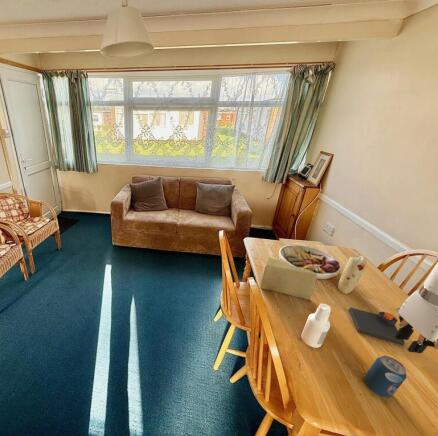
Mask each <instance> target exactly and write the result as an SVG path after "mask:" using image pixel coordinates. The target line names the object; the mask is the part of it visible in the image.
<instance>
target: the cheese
mask: <svg viewBox="0 0 438 436" xmlns="http://www.w3.org/2000/svg"><path fill="white" fill-rule="evenodd" d="M316 278H317V274H316V273H315V272H313V271H310V270H306V269H303V268H299V267H296V266H293V265H289V264H286V263H284V262H282V261H281V260H280V259H279V260H278V259H276V258H273V257H270V256H268V257H266V260H265V264H264V269H263V272H262V276H261V279H260V284H259V288H260V289H262V290H267V291H272V292H277V293H280V294H281V293H282V294H285V295H289V296H293V297H297V298H299V299H305V300H311V298H312V297H313V296H312V295H313V293H314V291H315V288H316V283H317V279H316Z"/></svg>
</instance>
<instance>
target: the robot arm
mask: <svg viewBox="0 0 438 436" xmlns="http://www.w3.org/2000/svg"><path fill="white" fill-rule="evenodd" d="M395 311H396V314H397V315H398V320H399V323H398V327H399V329H397V330H398V332H397V334H396V335H395V338H396V339H400V340H404V341H408V340H409V339H410V338H411V336H412V335H413V333H414V331H415V330H416V331H417V332H418V333H419V336H418V337H417V339H416V340H413V341H412V342H411V344H410V345H408V347H407V351H408V352H409V353H416V354H423V353H424V351H425V350H426V349H427V348H428V347H430V348H434V349H437V350H438V261H437V262H436V264H435V265H434V267H433V268H432V270H431V271H430V273H429V275H428V276H427V277H426V279H425V281H424V282H423V284H422V286H421V287H420V288H419V289H417V290H415V291H414V292H413V293H411V294H410V295H409V296H408V297H407V298H406V300H405V301H404V302H403V303H402V304H401V306H400V307H397V308H395ZM414 329H415V330H414Z"/></svg>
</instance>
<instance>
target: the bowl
mask: <svg viewBox="0 0 438 436" xmlns="http://www.w3.org/2000/svg"><path fill="white" fill-rule="evenodd" d="M278 257H279V261H281V262H284V263H286V264H289V265H293V266H296V267H299V268H303V269H306V270H310V271H313V272H315V273H316V274H317V278H316V280H327V279H331V278H335V277H336V276H337V275H338V274H339V273H340V271H341V265H340V262H339V261H337V259H336V258H334V257H333V256H331V255H330V254H328V253H326V252H324V251H322V250H319V249H317V248H315V247H310V246H306V245H301V244H288V245H284V246H282V247H281V248H280V249H279V252H278Z"/></svg>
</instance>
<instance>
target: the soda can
mask: <svg viewBox="0 0 438 436" xmlns="http://www.w3.org/2000/svg"><path fill="white" fill-rule="evenodd" d="M405 380H407V369H406V367H405V366H404V365H403V364H402V363H401V362H400V361H398V360H397V359H395V358H393V357H391V356H388V355H381V356H380V357H377V358H375V360H374V362H372V364H371V366H370V367H369V369H368V371H367V372H366V374H365V375H364V382H365V384H366V386H367V388H368V389H369V390H370V391H371V392H372V393H373V394H375V395H377V396H379V397H381V398H392V397H393V396H394V395H395V393H396V392H397V391H398V389H399V388H400V386H401V385H402V384H403V383H404V381H405Z"/></svg>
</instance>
